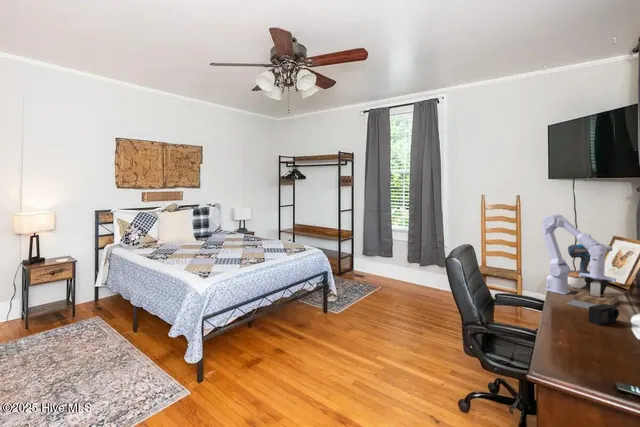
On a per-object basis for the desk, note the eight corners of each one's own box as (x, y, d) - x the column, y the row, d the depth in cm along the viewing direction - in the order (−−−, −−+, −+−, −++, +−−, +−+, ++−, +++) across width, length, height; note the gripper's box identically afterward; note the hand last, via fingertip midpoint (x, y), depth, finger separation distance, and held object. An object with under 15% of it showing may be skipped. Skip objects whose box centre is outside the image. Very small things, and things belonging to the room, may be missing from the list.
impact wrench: (614, 286, 189) (616, 244, 188) (571, 284, 194) (572, 244, 192) (605, 282, 197) (606, 242, 195) (564, 281, 201) (565, 242, 200)
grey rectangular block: (590, 299, 166) (590, 282, 166) (592, 298, 168) (593, 281, 168) (599, 301, 163) (600, 284, 162) (602, 300, 165) (603, 283, 165)
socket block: (574, 299, 168) (574, 294, 167) (584, 294, 175) (584, 289, 175) (609, 306, 156) (609, 301, 156) (618, 301, 164) (618, 296, 164)
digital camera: (602, 326, 134) (602, 310, 133) (588, 322, 139) (588, 306, 139) (619, 323, 137) (619, 307, 136) (605, 318, 142) (605, 303, 141)
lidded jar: (592, 289, 184) (593, 273, 183) (573, 289, 184) (574, 273, 183) (578, 284, 194) (578, 269, 194) (560, 284, 195) (560, 269, 194)
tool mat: (565, 303, 161) (565, 303, 161) (573, 299, 167) (573, 299, 167) (601, 312, 150) (601, 311, 150) (608, 307, 155) (608, 307, 155)
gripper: (577, 266, 168) (576, 291, 169) (613, 271, 156) (612, 298, 157) (582, 264, 172) (581, 288, 173) (617, 269, 160) (616, 295, 161)
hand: (596, 293), depth 165 cm, fingers closed on grey rectangular block, 4 cm apart
